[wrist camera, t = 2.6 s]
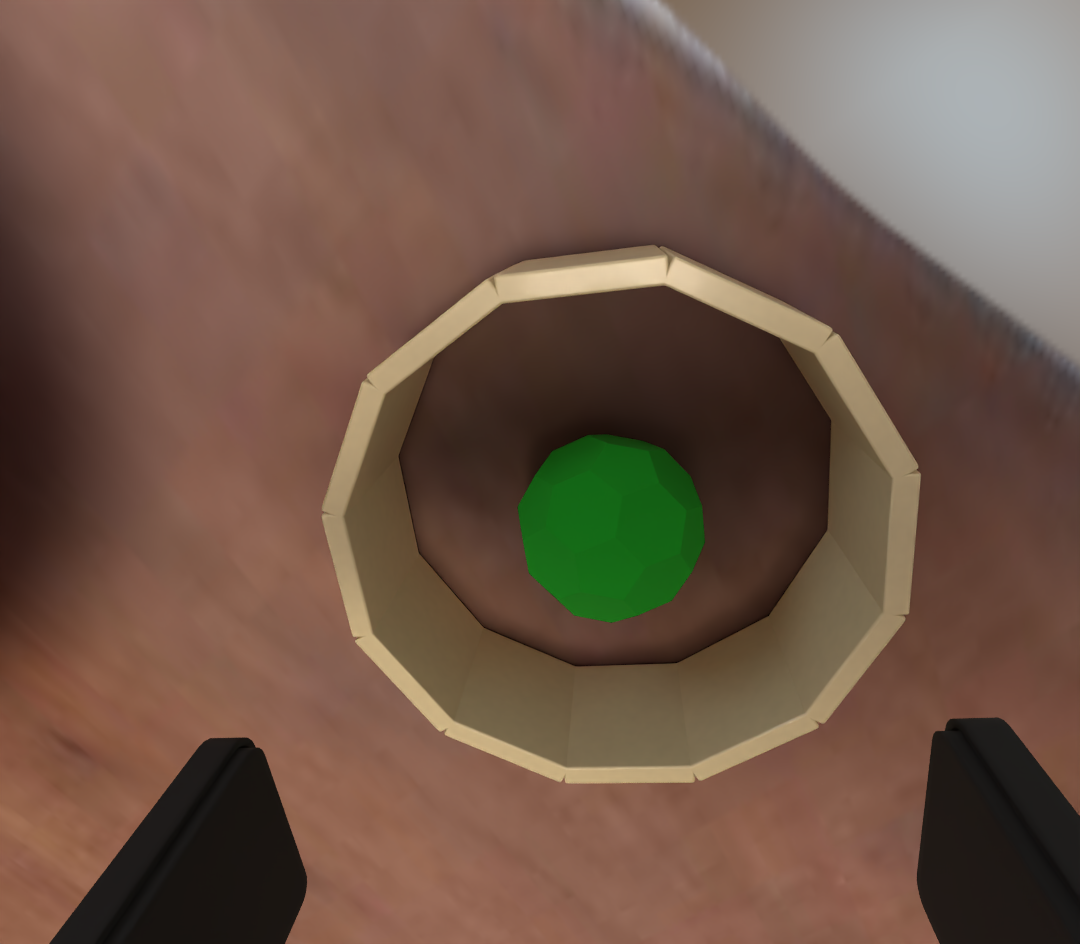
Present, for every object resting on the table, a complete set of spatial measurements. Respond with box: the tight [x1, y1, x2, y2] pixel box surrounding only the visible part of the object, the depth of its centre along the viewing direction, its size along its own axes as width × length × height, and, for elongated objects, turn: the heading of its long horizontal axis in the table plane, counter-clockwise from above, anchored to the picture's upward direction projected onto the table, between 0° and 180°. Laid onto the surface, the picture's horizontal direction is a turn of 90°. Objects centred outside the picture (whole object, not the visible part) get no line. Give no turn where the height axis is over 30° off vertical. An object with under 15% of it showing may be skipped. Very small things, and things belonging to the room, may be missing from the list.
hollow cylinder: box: [322, 245, 921, 783], centre depth 18 cm, size 14×14×4 cm
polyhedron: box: [518, 434, 705, 623], centre depth 18 cm, size 5×5×5 cm
